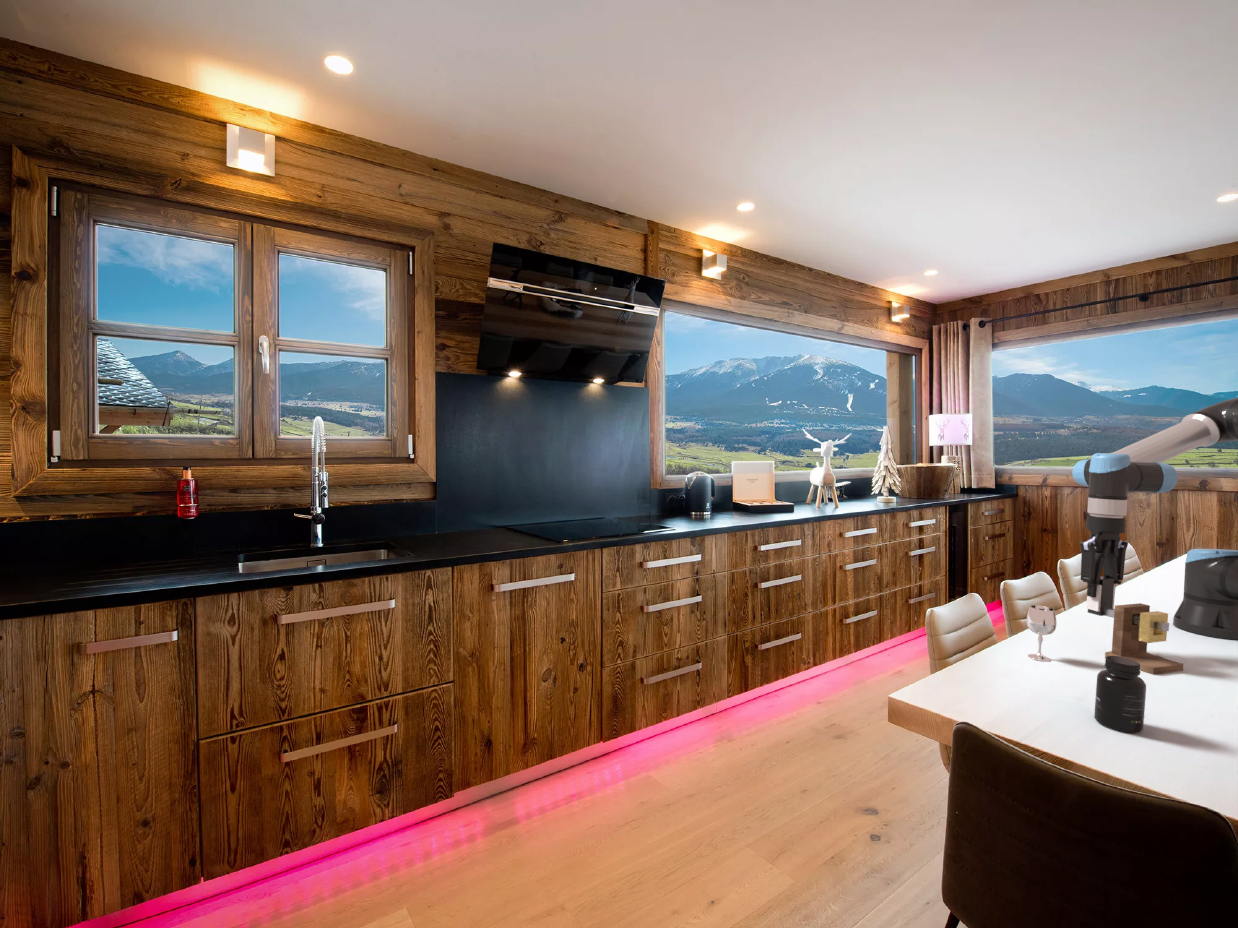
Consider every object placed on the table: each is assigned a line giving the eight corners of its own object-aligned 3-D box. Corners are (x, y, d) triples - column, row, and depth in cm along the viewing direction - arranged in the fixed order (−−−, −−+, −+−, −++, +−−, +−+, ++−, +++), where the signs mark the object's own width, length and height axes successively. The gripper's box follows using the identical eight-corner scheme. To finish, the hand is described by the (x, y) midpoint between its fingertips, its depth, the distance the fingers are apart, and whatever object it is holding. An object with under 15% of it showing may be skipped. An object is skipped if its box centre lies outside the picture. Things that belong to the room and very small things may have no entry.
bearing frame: (1104, 658, 142) (1108, 604, 141) (1133, 654, 145) (1137, 601, 145) (1153, 674, 133) (1157, 616, 132) (1183, 670, 136) (1187, 614, 135)
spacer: (1138, 640, 137) (1140, 612, 137) (1156, 638, 139) (1158, 611, 139) (1148, 642, 135) (1150, 615, 135) (1166, 640, 137) (1168, 613, 137)
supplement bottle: (1084, 716, 111) (1088, 653, 110) (1118, 716, 111) (1122, 653, 111) (1118, 735, 104) (1122, 667, 103) (1154, 734, 104) (1158, 667, 104)
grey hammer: (1087, 612, 149) (1089, 576, 148) (1098, 611, 150) (1101, 575, 150) (1160, 632, 134) (1162, 592, 134) (1171, 630, 135) (1174, 591, 135)
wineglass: (1059, 663, 138) (1062, 612, 137) (1031, 661, 139) (1034, 610, 138) (1046, 654, 143) (1049, 605, 143) (1020, 652, 144) (1023, 603, 144)
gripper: (1113, 513, 153) (1107, 603, 154) (1065, 514, 148) (1059, 607, 149) (1147, 517, 146) (1140, 611, 147) (1097, 518, 141) (1091, 615, 142)
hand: (1099, 608), depth 148 cm, fingers closed on grey hammer, 4 cm apart
